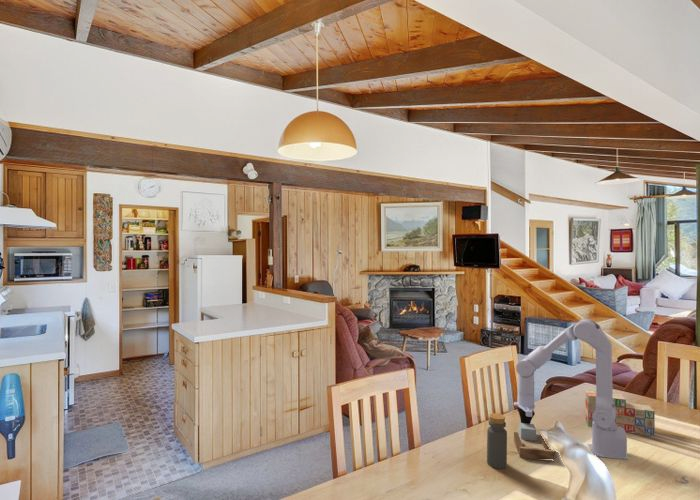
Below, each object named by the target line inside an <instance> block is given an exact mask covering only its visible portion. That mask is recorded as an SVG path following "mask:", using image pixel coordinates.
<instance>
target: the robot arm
mask: <svg viewBox="0 0 700 500" xmlns="http://www.w3.org/2000/svg"><path fill="white" fill-rule="evenodd" d="M577 340H580V341H581V342H585V343H587V344H588V345H590V347H592V348H593V349H594V350H595V387H596V388H595V389H596V391H595V392H596V409H595V411H594V413H593V416H592V418H593V421H592V427H591V429H592V430H591V431H592V433H591V435H592V436H591V438H592V439H591V443H588V444H587V447H589V449H590V451H591V452H592V453H593V455H594V454H595V455H596V456H595V455H594V456H595V457H600V458H609V459H618V460H627V461H628V458H629V457H627V455H628V454H627V453H628V439H627V432H625V430H624V428H622V427H618V426H617V425H616V423H615V418H616V416H617V410H616V408H615V406H614V401H613V393H614V392H613V389H614V388H613V348H612V346H613V345H612V342H611V340H610V339H609V338H608V336H607V335H606V334H605V332H604V330H603V329H602V327H601V325H600V324H598V323H597V322H595V320H593V319H590V318H586V317H585V318H582V319H579V321H578V322H577V323H576V322H575V323H573V324H571V325H570V326H568V327H566V328H564V329H563V330H562V331H561V332H560V333H559V334H558V335H556V336H555V337H554V338H553V339H552V340H551V341H549V342H548V343H547V344H546V345H538V346H535V347H533V348H532V351H531V352H529V353H528V354H525V355H524V356H523V359H521V360H519V361H518V362H517V363H516V365H515V366H516V367H515V370H516V373H517V397H516V398H517V401H514V402H513V405H514V406H515V407H516V410H517V412H518V415H519V418H520V423H527V424H532V423H531V422H532V419H533V418H534V416H535V415H536V413H535V411H534V409H535V407H536V406H535V372H536V371H537V370H538V369H540V368H541V367H543V366H544V365H546V363H547V362H549V361H550V360H551V359H552V354H553V353H554V352H555V351H556V350H557V349H559V348H560V347H562V346H563V345H564V344H566V343H567V342H569V341H577Z"/></svg>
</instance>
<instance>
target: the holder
mask: <svg viewBox="0 0 700 500" xmlns="http://www.w3.org/2000/svg"><path fill="white" fill-rule="evenodd" d="M521 440H522V439H521V438H520V435H519V431H518V432H516V431H515V432H513V442H514V445H515V448H516V451H517V453H518V456H519V458H523V459H532V460H538V459H553V460H554V459H555V460H556V458H555V457H556V450H554V449H553V450H554V451H553V450H551V449H549V447H548V446H547V444H546V443H545V441H544V439H543V438H542V437H541V444H543V445H542V447H543V446H544V447H543V448H538V447H528V446H527V447H526V446H523V442H522V441H521ZM544 448H545V449H544Z"/></svg>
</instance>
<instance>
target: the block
mask: <svg viewBox="0 0 700 500" xmlns="http://www.w3.org/2000/svg"><path fill="white" fill-rule="evenodd" d="M518 435H519V437H520V440H525V441H526V440H527V441H533V440H536V441H537V429H536V426H535V425H534V424H533V423H530V424H527V423H521V422H518Z"/></svg>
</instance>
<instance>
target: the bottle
mask: <svg viewBox="0 0 700 500" xmlns="http://www.w3.org/2000/svg"><path fill="white" fill-rule="evenodd" d="M506 423H507V422H506V416H505V415H503V414H501V413H494V412H492V413H489V420H488V425H489V427H488V428H487V430H486V431H487V432H486V464H487V465H488V466H490V467H491V468H495V469H499V470H500V469H504V468H506V467H507V464H508V461H507V459H508V458H507V457H508V431H507V430H506V429H505V428H506V426H507V424H506Z"/></svg>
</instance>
